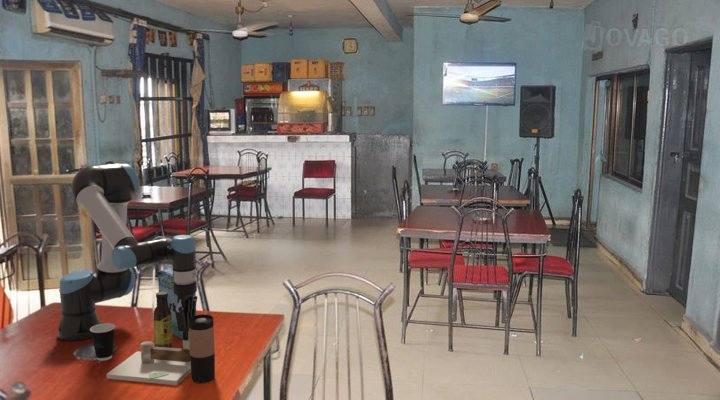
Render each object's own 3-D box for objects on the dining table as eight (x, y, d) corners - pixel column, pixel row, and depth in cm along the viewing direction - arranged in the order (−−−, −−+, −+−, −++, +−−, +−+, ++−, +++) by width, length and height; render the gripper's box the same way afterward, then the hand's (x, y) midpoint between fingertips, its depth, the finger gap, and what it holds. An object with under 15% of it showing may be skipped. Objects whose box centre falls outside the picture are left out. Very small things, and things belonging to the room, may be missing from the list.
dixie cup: (116, 351, 208) (114, 321, 207) (117, 360, 201) (115, 329, 200) (91, 355, 205) (89, 325, 203) (92, 364, 198) (90, 333, 196)
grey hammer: (139, 362, 195) (138, 345, 194) (145, 357, 199) (144, 340, 198) (187, 367, 192) (186, 349, 191) (192, 361, 196) (191, 344, 195)
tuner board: (105, 379, 187) (105, 374, 187) (137, 355, 205) (137, 350, 205) (176, 386, 183) (175, 380, 183) (202, 361, 201) (202, 356, 201)
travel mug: (193, 373, 192) (191, 314, 189) (217, 372, 192) (215, 313, 189) (188, 384, 184) (186, 323, 181) (213, 383, 185) (211, 322, 182)
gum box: (159, 327, 231) (157, 271, 227) (171, 324, 234) (169, 268, 231) (186, 341, 218) (183, 281, 214) (198, 337, 221) (196, 278, 218)
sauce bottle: (167, 350, 209) (164, 296, 206) (151, 349, 211) (148, 295, 207) (176, 343, 216) (174, 291, 213) (160, 342, 217) (158, 289, 214)
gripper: (186, 287, 191) (189, 356, 195) (203, 276, 204) (206, 341, 208) (164, 286, 193) (168, 354, 196) (183, 275, 205) (186, 339, 209)
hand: (187, 347), depth 202 cm, fingers closed
